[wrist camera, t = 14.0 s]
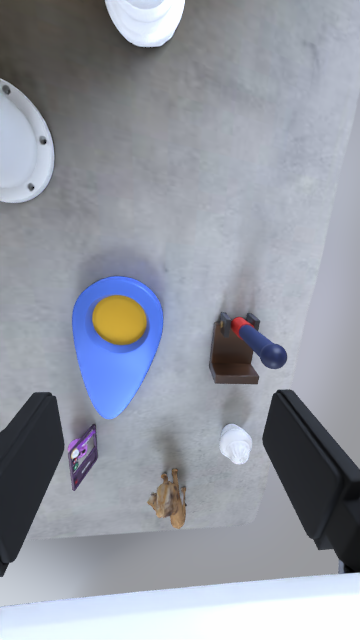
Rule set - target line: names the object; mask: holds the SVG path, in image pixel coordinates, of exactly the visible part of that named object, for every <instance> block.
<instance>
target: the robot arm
mask: <svg viewBox="0 0 360 640" xmlns="http://www.w3.org/2000/svg"><path fill="white" fill-rule="evenodd" d="M45 141H47V142H46V144H45ZM54 159H55V156H54V145H53V141H52V137H51V134H50V131H49V129H48V127H47V124H46V122H45V120H44V119H43V117H42V115H41V114H40V112H39V111H38V109H37V108H36V107H35V106H34V104H33V103H32V102H31V101H30V100H29V99H28V98H27V97H26V96H25V95H24V94H23V93H22V92H21V91H20V90H18V89H17V88H16V87H14V86H13V85H12V84H10V83H8V82H6V81H4V80H3V79H1V78H0V201H2V202H7V203H19V202H25V201H28V200H30V199H33V198H35V197H36V196H37V195H39V194H40V193H41V192H42V191H43V190H44V189H45V187H46V186H47V184H48V183H49V181H50V179H51V176H52V172H53V169H54ZM33 187H34V190H33ZM262 440H263V445H264V448H265V450H266V452H267V454H268V456H269V458H270V460H271V462H272V464H273V466H274V468H275V470H276V472H277V474H278V476H279V478H280V480H281V482H282V484H283V486H284V488H285V491H286V492H287V495H288V497H289V499H290V501H291V503H292V505H293V507H294V509H295V511H296V513H297V515H298V517H299V519H300V521H301V523H302V525H303V527H304V530H305V531H306V533H307V535H308V536H309V537H310V538H311V539H313V540H314V542H315V544H316V546H317V548H318V550H325V549H334V551H335V553H336V555H337V556H338V558H339V571H338V574H331V575H316V576H304V577H293V578H281V579H270V580H260V581H247V582H236V583H227V584H215V585H204V586H194V587H184V588H174V589H163V590H152V591H142V592H131V593H122V594H112V595H102V596H93V597H83V598H73V599H63V600H53V601H42V602H35V603H26V604H19V605H10V606H2V607H0V640H360V469H359V468H358V467H357V466H356V465H355V464H354V462H353V461H352V460H351V459H350V458H349V456H348V455H347V454H346V453H345V452H344V450H343V449H342V448H341V447H340V446H339V445H338V443H337V442H336V441H335V440H334V439H333V437H332V436H331V435H330V434H329V433H328V432H327V430H326V429H325V428H324V427H323V426H322V424H321V423H320V422H319V421H318V420H317V419H316V417H315V416H314V415H313V414H312V413H311V411H310V410H309V409H308V408H307V407H306V406H305V405H304V403H303V402H302V401H301V400H300V399H299V397H298V396H297V395H296V394H295V393H294V391H292V390H277V392H276V393H274V394H273V396H272V400H271V405H270V409H269V413H268V417H267V421H266V425H265V429H264V433H263V438H262ZM63 451H64V439H63V433H62V427H61V422H60V416H59V410H58V405H57V399H56V397H55V396H52V394H51V393H50V392H35V393H33V394H32V395H31V397H30V398H29V399H28V401H27V402H26V403H25V404H24V406H23V407H22V408H21V409H20V411H19V412H18V413H17V414H16V416H15V417H14V418H13V419H12V421H11V422H10V423H9V424H8V426H7V427H6V428H5V429H4V430H2V431H1V432H0V577H3V575H4V573H5V571H6V569H7V567H8V564H9V563H11V562H13V561H14V560H15V559H16V557H17V555H18V553H19V551H20V549H21V547H22V545H23V542H24V540H25V538H26V535H27V533H28V531H29V529H30V526H31V524H32V522H33V520H34V517H35V515H36V513H37V511H38V508H39V506H40V504H41V502H42V499H43V497H44V495H45V493H46V490H47V488H48V486H49V484H50V481H51V479H52V477H53V475H54V472H55V470H56V468H57V465H58V463H59V461H60V459H61V456H62V454H63Z"/></svg>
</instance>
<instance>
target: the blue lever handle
mask: <svg viewBox="0 0 360 640" xmlns="http://www.w3.org/2000/svg"><path fill="white" fill-rule="evenodd" d="M231 329H232V331H233V332H234V333H235V334H236V335H237V336H238V337H239V338H240V339H241V340H244V341H245V342H246V343H247V344H248V345H249V346H250V347H251V348H252V350H253V351H254V352H255V353H256V354H257V355H258V356H259V357H260V359H261V361H262V363H263V364H264V365H265V366H266V367H268V368H271V369H278V368H281V367H282V366H283V365H284V364H285V363H286V361H287V353H286V351H285V350H284V348H283V347H281V346H280V345H278V344H274V343H272V342H271V341H270V340H269V339H267V338H266V337H265V336H263V335H262V334H261V333H259V332H258V331H257V330H256V329H255V328H254V326H253V325H251V324H250V323H249V322H247V321H246V320H245V319H243V318H242V317H236V318H234V319H233V320H232V321H231Z"/></svg>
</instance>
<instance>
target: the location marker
mask: <svg viewBox="0 0 360 640" xmlns="http://www.w3.org/2000/svg"><path fill="white" fill-rule="evenodd" d="M72 326H73V336H74V344H75V349H76V354H77V358H78V363H79V367H80V370H81V374H82V377H83V381H84V384H85V387H86V389H87V392H88V395H89V397H90V399H91V402H92V404H93V405H94V407H95V409H96V410H97V412H98V413H99V414H100V415H101V416H102V417H103V418H106V419H112V418H114V417H116V416H118V415H119V414H120V413H121V412H122V411H123V410H124V409H125V408H126V406H127V405H128V404H129V403H130V401H131V400H132V398H133V397H134V395H135V394H136V392H137V390H138V389H139V387H140V385H141V383H142V382H143V380H144V378H145V376H146V374H147V372H148V370H149V368H150V365H151V363H152V361H153V359H154V356H155V354H156V351H157V348H158V345H159V342H160V339H161V335H162V330H163V311H162V307H161V304H160V302H159V300H158V298H157V297H156V295H155V294H154V293H153V292H152V291H151V290H150V289H149V288H148V287H147V286H146V285H144V284H143V283H141V282H139V281H137V280H135V279H132V278H128V277H122V276H113V277H107V278H104V279H101V280H99V281H97V282H95V283H94V284H92V285H91V286H89V287H88V288H86V289H85V290H84V291H83V292H82V293H81V294H80V296H79V297H78V299H77V301H76V303H75V305H74V309H73V315H72Z"/></svg>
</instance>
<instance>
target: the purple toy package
mask: <svg viewBox="0 0 360 640" xmlns="http://www.w3.org/2000/svg"><path fill="white" fill-rule="evenodd" d="M92 429H93V431H92V432H91V433H90V434H89V436H88V437H87V438H86V439H85V440H83V439H84V438H85V437H86V436H87V435H88V433H89V432H90V431H91V430H92ZM92 435H93V440H94V448H93V449H92V451H91V452H90V453H89V455H88V456H87V457H86V459H85V460H84V461H83V462H82V464H81V465H80V466H79V468H78V469H77V467H78V462H77V460H78V458H81V457H82V456H84V455H86V452H87V441H88V440H89V439H90V438H91V437H92ZM68 458H69V466H70V474H71V483H72V490H73V491H75V490H76V488H77V487H78V486H79V484H80V483H81V481H82V480H83V479H84V477H85V476H86V474H87V473H88V472H89V470H90V469H91V467H92V466H93V464H94V463H95V462H96V460H97V458H98V457H97V441H96V426H95V424H93V425H92V426H91V427H90V428H89V429H88V431H87V432H86V433H85V434H84V435H83V436H82V437H81V439H75V440H73V441H72V442H71V443H70V444H69V446H68ZM72 459H73V460H72ZM73 465H74V466H73ZM76 469H77V470H76ZM75 470H76V472H75V473H74V474H73V472H74V471H75Z"/></svg>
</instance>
